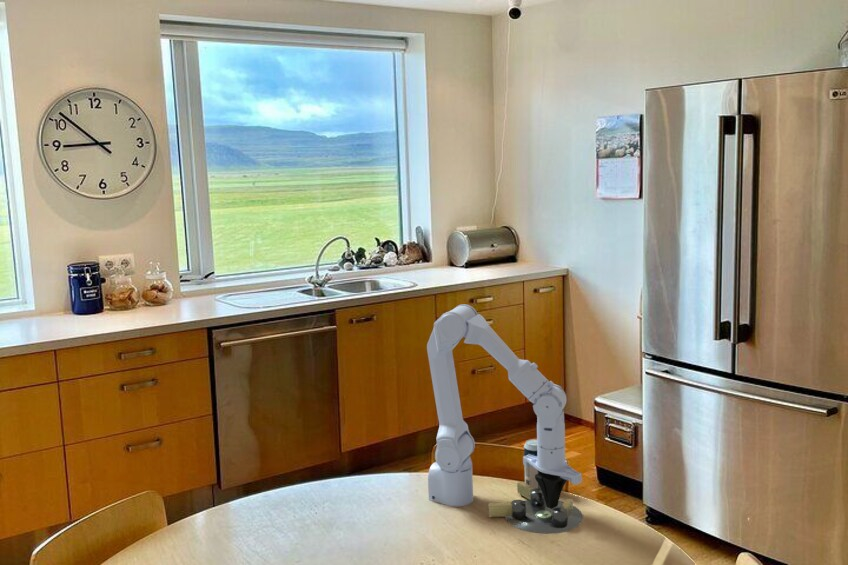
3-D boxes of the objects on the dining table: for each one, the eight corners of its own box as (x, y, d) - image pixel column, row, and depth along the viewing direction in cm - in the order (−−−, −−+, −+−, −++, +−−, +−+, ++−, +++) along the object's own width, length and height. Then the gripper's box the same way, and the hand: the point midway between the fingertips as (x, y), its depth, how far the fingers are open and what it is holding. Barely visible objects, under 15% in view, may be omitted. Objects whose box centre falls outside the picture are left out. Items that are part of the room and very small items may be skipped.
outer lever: (564, 528, 152) (564, 515, 152) (550, 525, 154) (550, 512, 153) (577, 512, 159) (576, 500, 158) (563, 510, 160) (563, 497, 160)
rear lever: (547, 504, 163) (547, 491, 163) (536, 507, 162) (536, 495, 161) (525, 491, 170) (524, 480, 169) (514, 495, 168) (514, 483, 168)
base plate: (492, 529, 156) (492, 522, 156) (522, 498, 170) (522, 492, 169) (568, 545, 148) (567, 538, 148) (592, 512, 162) (592, 505, 161)
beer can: (545, 498, 169) (544, 446, 168) (524, 497, 170) (522, 445, 169) (546, 489, 174) (545, 438, 172) (525, 488, 175) (524, 438, 173)
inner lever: (524, 511, 160) (524, 499, 160) (527, 518, 157) (526, 505, 157) (488, 513, 160) (487, 501, 159) (489, 520, 157) (489, 507, 157)
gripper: (591, 448, 155) (591, 511, 157) (538, 431, 166) (539, 490, 168) (568, 457, 151) (568, 522, 153) (515, 439, 162) (517, 499, 164)
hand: (552, 506), depth 160 cm, fingers closed
